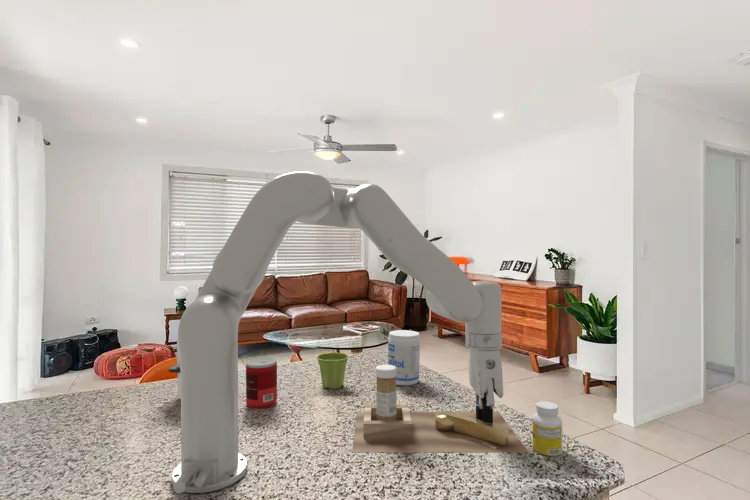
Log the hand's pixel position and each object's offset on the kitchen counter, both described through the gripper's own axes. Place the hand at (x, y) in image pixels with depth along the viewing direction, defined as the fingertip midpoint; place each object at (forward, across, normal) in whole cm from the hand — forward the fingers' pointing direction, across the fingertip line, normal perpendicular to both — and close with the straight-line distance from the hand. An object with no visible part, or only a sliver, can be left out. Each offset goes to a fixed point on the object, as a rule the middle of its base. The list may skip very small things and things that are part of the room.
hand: (484, 425), depth 90 cm
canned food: (+2, +21, +52) cm, 56 cm away
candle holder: (+2, +28, +71) cm, 77 cm away
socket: (+1, +3, +21) cm, 21 cm away
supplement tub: (+3, +38, +14) cm, 40 cm away
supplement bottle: (+3, -8, -10) cm, 13 cm away
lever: (+1, -1, +3) cm, 4 cm away
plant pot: (+2, +34, +35) cm, 49 cm away
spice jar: (+2, +3, +21) cm, 21 cm away
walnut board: (+2, +2, +11) cm, 11 cm away
